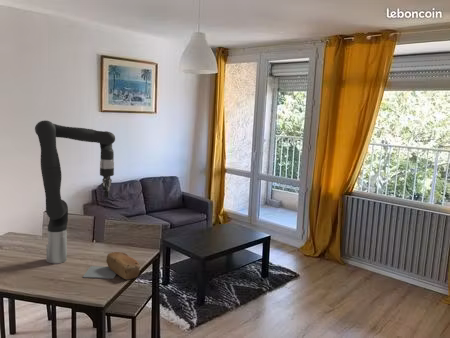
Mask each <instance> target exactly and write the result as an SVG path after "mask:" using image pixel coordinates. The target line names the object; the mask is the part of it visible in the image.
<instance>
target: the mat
mask: <svg viewBox="0 0 450 338" xmlns="http://www.w3.org/2000/svg"><path fill="white" fill-rule="evenodd" d="M116 276H117V274H116V273H115V272H114V271H112V270H111V269H110V268H109V267H108V266H102V265H101V266H100V265H99V266H98V265H91V266H89V268H88V269H87V270H86V272H85V273H84V275H82V278H83V279H107V280H110V279H111V280H113V279H115V278H116Z"/></svg>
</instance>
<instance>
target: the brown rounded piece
mask: <svg viewBox="0 0 450 338" xmlns="http://www.w3.org/2000/svg"><path fill="white" fill-rule="evenodd" d="M106 264H107V267H109V268H110V269H111V270H112V271H114V272H115V273H116V275H118V276H119V277H120V278H121V279H123V280H124V279H125V280H126V281H128V280H132V279H136V278H138V276H139V275H140V269H141V265H140V263H139V261H138V260H136V259H135V258H133V257H132V256H130V255H128V254H127V253H125V252H121V251H114V252H110V253H108V254H107V256H106Z"/></svg>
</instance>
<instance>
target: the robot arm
mask: <svg viewBox="0 0 450 338" xmlns="http://www.w3.org/2000/svg"><path fill="white" fill-rule="evenodd" d="M34 132H35V134H36V135H37V137H38V142H39V147H40V171H41V177H42V183H43V184H42V185H43V188H44V195H45V196H44V197H45V214H46V215H47V216H48V218H49V221H48V225H47V244H46V245H45V246H46V263H50V264H61V263H64V262H66V261H67V260H68V259H67V258H68V254H67V253H68V252H67V251H68V249H67V248H68V247H67V246H68V242H67V241H68V239H67V238H68V236H67V235H68V233H67V232H68V227H67V226H68V220H69V207H68V204H67V202H66V201H65V200H64V199H62V196H61V186H62V169H61V162H60V161H61V160H60V157H59V153H58V148H57V138H62V139H63V138H64V139H68V140H69V139H70V140H74V141H80V142H86V143H96V144H97V143H98V144H99V146H100V160H99V176H101V177H103V178H102V180H101V187H102V191H103V195H104V198H106V199H108V198H109V197H110V190H111V187H112V180H113V179H112V178H111V177H114V175H115V162H114V157H115V156H114V155H115V154H114V149H113V143H114V142H115V141H116V136H115V135H114V133H113V132H111V131H106V130H104V131H102V130H95V129H93V128H85V127H75V126H65V125H59V124H56V123H53V122H52V121H50V120H40V121H38V122H37V123H36V125H35V126H34Z"/></svg>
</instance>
